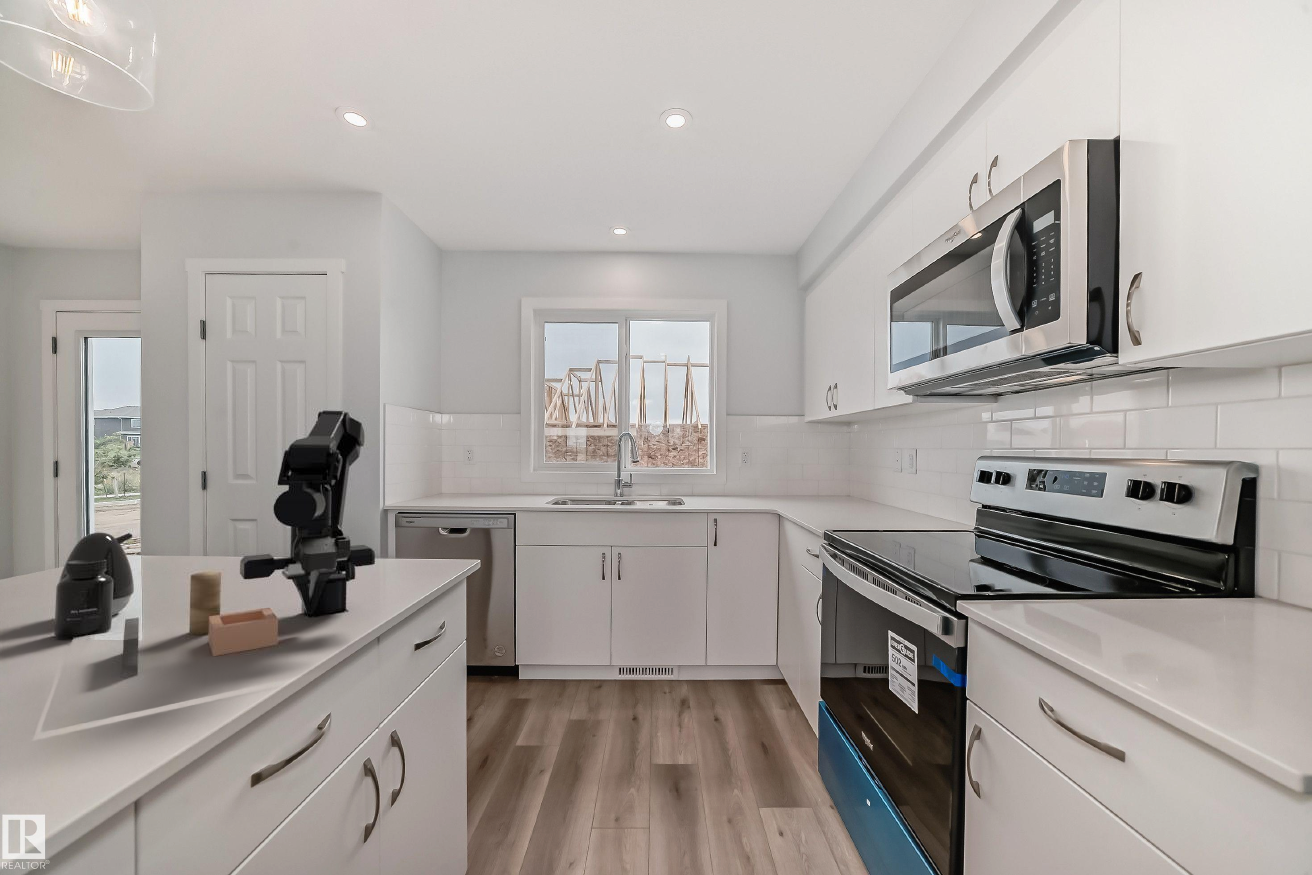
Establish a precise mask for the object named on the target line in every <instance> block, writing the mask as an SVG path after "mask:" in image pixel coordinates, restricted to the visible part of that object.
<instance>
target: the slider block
mask: <svg viewBox="0 0 1312 875" xmlns="http://www.w3.org/2000/svg"><path fill="white" fill-rule="evenodd" d="M278 637H279V618H278V617H277V615H276V614H275V613H274V612H273V610H272V608H271V607H265V608H258V609H251V610H245V611H243V610H242V611H239V612H238V611H237V612H236V611H235V612H231V613H223V614H220V615H215V616H209V634H208V646H209V648H210V651H211V655H212V657H217V656H222V655H228V654H232V653H239V652H245V651H249V650H256V649H261V648H262V649H263V648H267V647H272V646H277V645H278V640H279V638H278Z"/></svg>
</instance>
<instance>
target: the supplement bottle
mask: <svg viewBox="0 0 1312 875" xmlns="http://www.w3.org/2000/svg"><path fill="white" fill-rule="evenodd" d="M106 570H107V567H106V559H83V560H75V561H70V562H67V564H66V571H65V574H67V578H65V579H63V580H61V581H60V582H59V581H58V583H57V585H56V590H55V608H54V609H55V610H54V611H55V612H54V624H53V625H54V626H53V627H54V628H53V629H54V632H53V636H54V637H55V638H56V639H59V640H74V638H80V637H88V636H96V635H101V634H105V633H107V632H109V631H110V630H111V629H112V622H113V616H112V606H113V585H114V583H113V579H112V577H110V576H109V575H106V574H104V571H106Z"/></svg>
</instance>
